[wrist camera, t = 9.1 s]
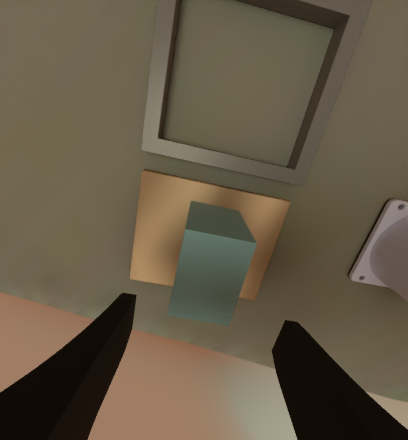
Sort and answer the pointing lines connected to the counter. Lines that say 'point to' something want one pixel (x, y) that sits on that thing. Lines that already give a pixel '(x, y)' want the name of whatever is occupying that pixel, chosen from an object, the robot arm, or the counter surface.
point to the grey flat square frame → (318, 107)
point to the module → (211, 264)
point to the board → (177, 217)
